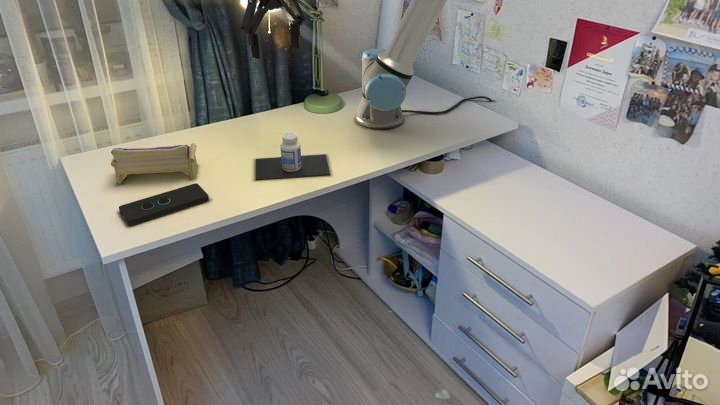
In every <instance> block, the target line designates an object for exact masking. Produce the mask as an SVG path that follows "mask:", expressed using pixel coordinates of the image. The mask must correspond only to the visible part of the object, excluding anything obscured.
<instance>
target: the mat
mask: <svg viewBox="0 0 720 405" xmlns="http://www.w3.org/2000/svg"><path fill="white" fill-rule="evenodd" d="M301 163H302V167H301V169H300V170H298V171H294V172H287V171H285V170H283V168H282V159H281V156H279V157H263V158H255V181H267V180H281V179H282V180H283V179H295V178H296V179H297V178H310V177H325V176H326V177H327V176H331V172H330V168H329V162H328V159H327V154H325V153H323V154H322V153H321V154H309V155H308V154H307V155H301Z"/></svg>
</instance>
